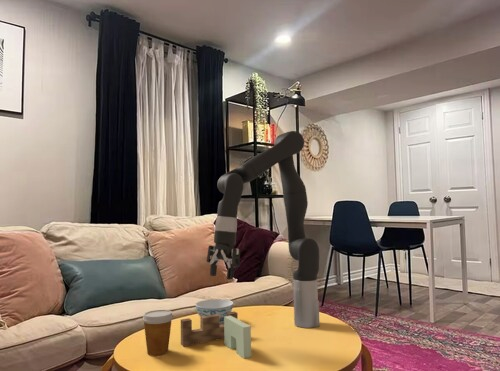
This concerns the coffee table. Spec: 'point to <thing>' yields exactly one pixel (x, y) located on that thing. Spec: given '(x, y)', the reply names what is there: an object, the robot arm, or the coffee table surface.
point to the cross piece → (237, 336)
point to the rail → (203, 329)
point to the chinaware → (214, 308)
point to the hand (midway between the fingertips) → (221, 277)
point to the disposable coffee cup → (157, 331)
